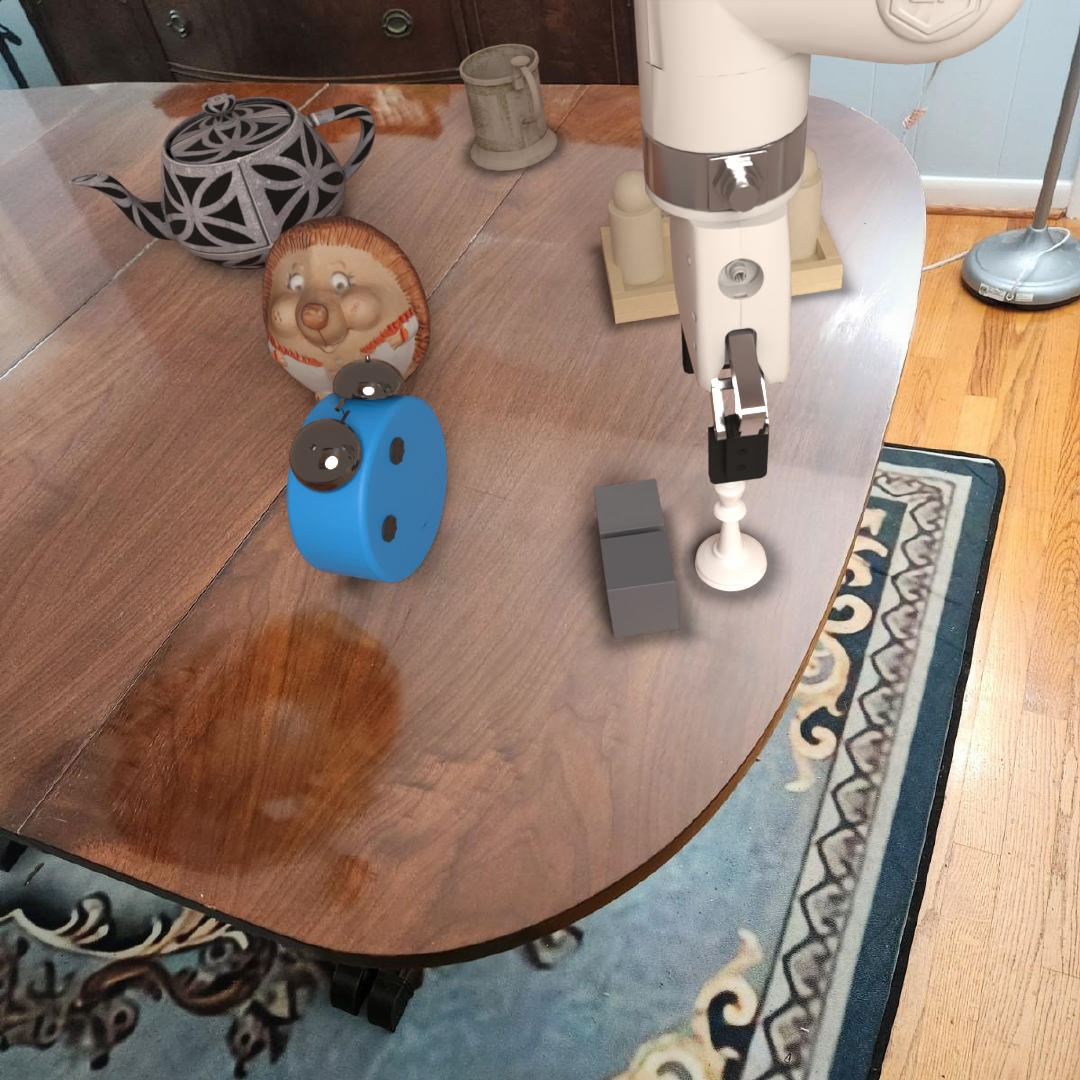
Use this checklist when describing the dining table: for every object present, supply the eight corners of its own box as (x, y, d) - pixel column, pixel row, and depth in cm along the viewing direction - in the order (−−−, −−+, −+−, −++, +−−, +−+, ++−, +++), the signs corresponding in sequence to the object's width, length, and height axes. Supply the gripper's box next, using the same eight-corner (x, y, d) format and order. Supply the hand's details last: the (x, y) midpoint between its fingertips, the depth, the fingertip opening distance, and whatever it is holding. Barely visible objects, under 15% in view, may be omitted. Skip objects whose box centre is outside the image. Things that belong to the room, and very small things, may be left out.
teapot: (115, 242, 113) (47, 113, 102) (372, 156, 117) (333, 23, 106) (132, 331, 101) (57, 195, 90) (419, 231, 105) (380, 90, 94)
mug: (458, 145, 116) (434, 39, 107) (534, 117, 118) (517, 10, 109) (508, 198, 107) (486, 86, 98) (590, 166, 108) (576, 54, 100)
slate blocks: (659, 520, 74) (655, 470, 70) (679, 629, 67) (675, 581, 63) (600, 528, 74) (592, 479, 70) (614, 638, 67) (606, 590, 64)
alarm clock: (395, 480, 81) (339, 330, 70) (465, 490, 79) (419, 336, 68) (324, 609, 73) (249, 462, 62) (401, 622, 71) (337, 474, 60)
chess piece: (687, 584, 70) (680, 484, 62) (704, 531, 72) (700, 430, 65) (758, 597, 68) (760, 496, 60) (773, 543, 71) (777, 440, 63)
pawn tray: (809, 216, 96) (816, 106, 88) (841, 288, 88) (851, 175, 80) (602, 249, 98) (590, 145, 90) (615, 324, 90) (603, 216, 82)
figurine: (272, 448, 86) (202, 302, 74) (297, 334, 96) (239, 191, 85) (438, 427, 84) (391, 275, 73) (444, 313, 95) (405, 165, 84)
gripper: (851, 240, 41) (820, 518, 54) (765, 59, 53) (756, 323, 66) (669, 267, 42) (681, 536, 55) (623, 81, 53) (641, 340, 66)
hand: (722, 420), depth 60 cm, fingers open, 9 cm apart
